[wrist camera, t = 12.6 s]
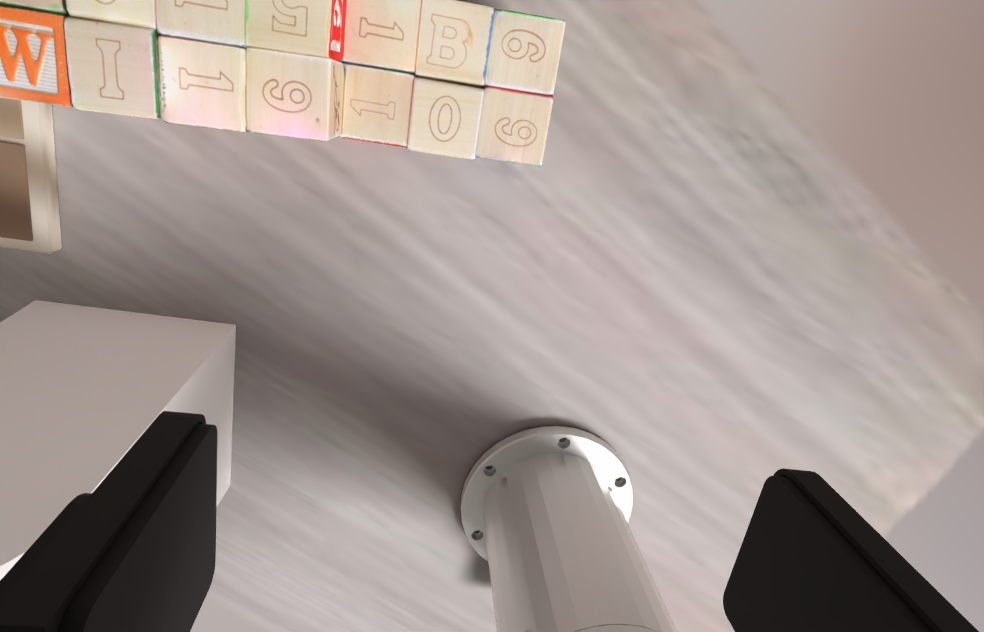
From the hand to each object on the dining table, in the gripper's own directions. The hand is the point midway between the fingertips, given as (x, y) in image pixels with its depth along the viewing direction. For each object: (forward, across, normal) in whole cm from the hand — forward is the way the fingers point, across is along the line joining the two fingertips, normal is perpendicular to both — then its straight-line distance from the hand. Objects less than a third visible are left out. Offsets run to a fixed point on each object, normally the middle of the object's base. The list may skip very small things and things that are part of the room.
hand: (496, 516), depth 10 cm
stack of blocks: (+29, +7, -7) cm, 30 cm away
